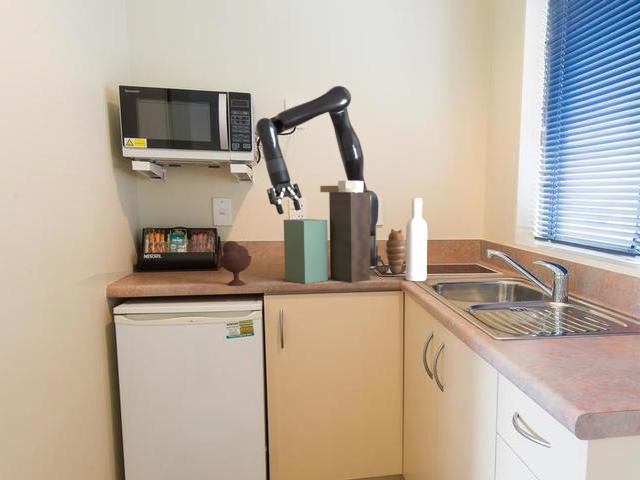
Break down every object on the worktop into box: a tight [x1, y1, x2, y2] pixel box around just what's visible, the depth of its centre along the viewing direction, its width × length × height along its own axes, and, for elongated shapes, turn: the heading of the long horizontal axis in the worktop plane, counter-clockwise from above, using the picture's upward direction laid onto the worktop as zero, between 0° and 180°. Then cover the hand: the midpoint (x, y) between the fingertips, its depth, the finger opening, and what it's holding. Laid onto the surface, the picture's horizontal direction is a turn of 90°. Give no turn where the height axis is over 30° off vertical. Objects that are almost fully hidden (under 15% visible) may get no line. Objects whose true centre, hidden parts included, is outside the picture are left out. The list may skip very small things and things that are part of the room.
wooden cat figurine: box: [385, 228, 406, 275], centre depth 204 cm, size 9×8×18 cm
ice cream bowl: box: [218, 240, 252, 287], centre depth 176 cm, size 11×11×15 cm
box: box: [283, 218, 329, 285], centre depth 186 cm, size 11×11×22 cm
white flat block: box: [319, 180, 363, 193], centre depth 188 cm, size 9×20×4 cm, turn 52°
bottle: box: [404, 198, 428, 282], centre depth 190 cm, size 8×8×30 cm
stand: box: [328, 192, 371, 283], centre depth 188 cm, size 10×11×32 cm
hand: (289, 212), depth 201 cm, fingers open, 8 cm apart
